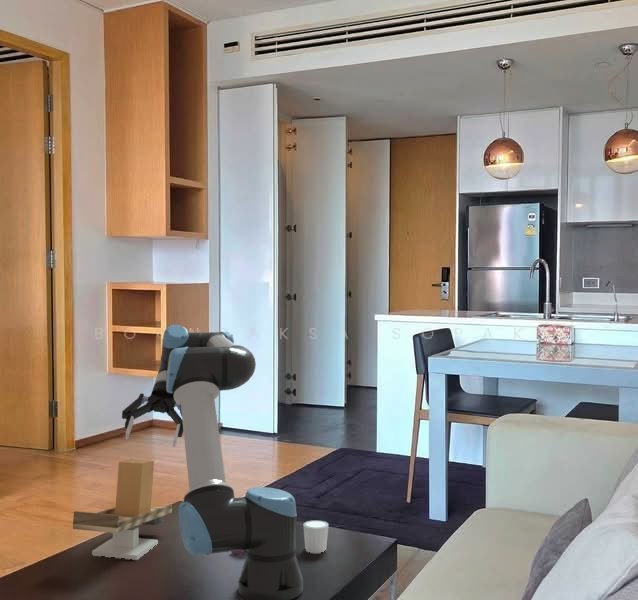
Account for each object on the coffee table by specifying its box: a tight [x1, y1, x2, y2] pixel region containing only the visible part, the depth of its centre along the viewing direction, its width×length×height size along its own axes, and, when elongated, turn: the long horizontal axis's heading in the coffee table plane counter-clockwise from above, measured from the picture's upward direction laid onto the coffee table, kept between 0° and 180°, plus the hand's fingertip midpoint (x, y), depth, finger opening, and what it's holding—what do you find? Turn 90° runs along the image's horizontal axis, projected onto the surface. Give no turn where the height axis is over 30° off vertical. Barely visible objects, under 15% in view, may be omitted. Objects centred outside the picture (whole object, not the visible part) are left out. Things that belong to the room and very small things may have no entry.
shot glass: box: [302, 520, 330, 554], centre depth 196 cm, size 7×7×7 cm
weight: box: [114, 459, 155, 516], centre depth 199 cm, size 7×7×14 cm
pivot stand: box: [91, 527, 159, 561], centre depth 195 cm, size 12×13×6 cm
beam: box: [72, 504, 173, 534], centre depth 195 cm, size 32×12×7 cm, turn 167°
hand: (150, 439), depth 207 cm, fingers open, 13 cm apart
